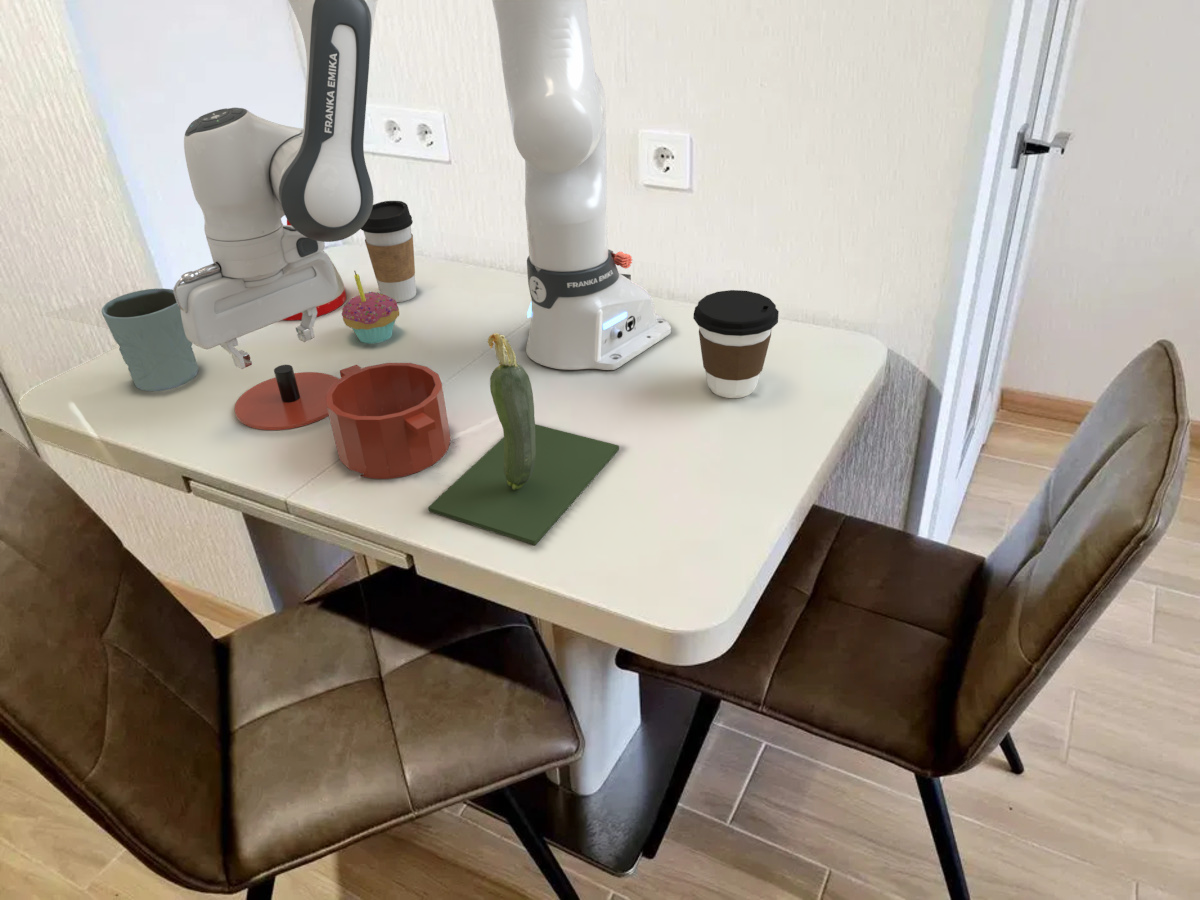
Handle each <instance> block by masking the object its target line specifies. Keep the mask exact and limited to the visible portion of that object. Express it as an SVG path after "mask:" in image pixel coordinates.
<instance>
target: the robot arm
mask: <svg viewBox="0 0 1200 900" xmlns="http://www.w3.org/2000/svg"><path fill="white" fill-rule="evenodd" d="M287 1H288V3H289V5H290V7H291V9H292V11H293V13H294V16H295V19H296V21H297V23H298V25H299V29H300V32H301V35H302V38H303V43H304V49H305V54H306V56H305V57H306V77H305V79H306V80H305V95H304V96H305V97H304V109H303V110H304V111H303V127H302V128H301V127H295V126H288V125H285V124H280V123H277V122H273V121H271V120H268V119H266V118H263V117H261V116H258V115H256V114H254V113H252V112H250V111H249V110H248V109H247V108H243V107H230V108H229V107H228V108H221V109H217V110H212V111H210V112H207V113H205V114H202V115H201V116H199V117H198V118H196V119H194V120H193V121H192V122H190V124H189V125H188V127H187V128H186V130H185V132H184V136H183V150H184V158H185V162H186V167H187V172H188V176H189V181H190V184H191V189H192V191H193V196H194V199H195V201H196V202H197V204H198V206H199V208H200V209H201V212H202V214H203V219H204V226H203V227H204V229H203V230H204V234H205V238H206V241H207V245H208V248H209V252H210V255H211V259H212V262H213V263H210V264H208V265H205V266H203V267H200V268H198V269H196V270H191V271H187V272H185V273H183V274H182V275H181V276H180V278H179V279H178V280H177V281H176V283H175V284H174V287H173V289H172V290H173V291H174V295H175V299H176V302H177V305H178V306H179V308H180V311H181V318H182V323H183V328H184V332H185V335H186V338H187V339H188V340H189V341H190V342H191V343H192V345H194V346H197V347H199V348H200V349H203V350H210V349H213V348H215V347H218V346H220V347H221V348H222V349H224V350H225V351H226V352H227V353H228V354H230V355H231V358H232V360H233V364H234V366H235V367H236V368H237V369H240V370H244V369H246V368H249V367H251V366H252V365H253V362H252V360H251V354H250V353H249V352H247V351H245V350H243V349H240V350H238V349H237V348H236V347H237V346H238V345H239V343H238V338H240V337H241V338H242V337H243V336H246V335H248V334H250V333H253V332H256V331H258V330H261V329H263V328H265V327H268V326H269V325H273V324H276V323H277V322H280V321H284V320H283V319H285V318H288V317H290V316H293V315H295V314H298V313H300V312H301V313H303V315H302V320H300V325H298V326H295V331H296V333H297V335H296V336H297V338H298V340H299V341H300V342H303V343H307V342H309V341H311V340H314V339H315V332H314V329H313V328H314V326H315V322H316V319H317V317H318V316H317V309H316V306H318V305H320V304H323V303H325V302H328V301H330V300H333V299H334V298H335V297H336V294H337V292H338V283H337V279H336V275H335V271H334V268H333V265H332V263H333V261H332V259H331V258H330V256H329V254H328V253H326V252H325V251H324V250H325V248H326V246H325V243H335V242H339V241H342V240H345V239H348V238H350V237H352V236H353V235H355V234H357V232H359V231H360V230H361V228H362V227H363V226H364V224H365V223H366V222H367V220H368V218H369V216H370V214H371V211H372V207H373V205H374V188H373V184H372V180H371V176H370V174H369V171H368V167H367V163H366V159H365V151H364V149H365V148H364V139H365V126H366V125H365V124H366V112H367V99H368V88H369V87H368V84H369V73H370V57H371V56H370V54H371V44H372V37H373V32H374V25H375V17H376V12H377V5H378V1H379V0H287ZM491 1H492V2H491V3H492V7H493V12H494V16H495V21H496V27H497V34H498V44H499V51H500V59H501V67H502V68H501V69H502V74H503V82H504V89H505V94H506V102H507V107H508V112H509V119H510V120H509V121H510V126H511V131H512V138H513V140H514V143H515V146H516V149H517V151H518V152H519V155H520V156H521V157H522V159H523V160H524V212H525V222H526V236H527V245H528V256H527V258H526V274H527V285H528V289H529V290H528V291H529V294H530V298H531V301H530V304H529V307H528V310H527V312H526V316H527V319H529V318H530V320H529V321H530V322H529V323H530V324H529V330H528V337H527V342H526V347H525V352H526V355H527V357H529V359H531V360H532V361H533V362H535V363H536V364H538V365H541V366H544V367H547V368H550V369H556V370H565V371H567V370H569V371H571V370H573V371H575V370H577V371H578V370H590V369H593V370H594V369H595V370H602V371H613V370H614V371H615V370H617V369H619V368H621V367H622V366H624V365H625V364H626V363H628V362H629V361H631V360H632V359H635V358H636V357H637V356H639V355H641V354H642V353H644V352H645V351H646V350H649V348H651V347H652V346H654V345H655V344H657V343H658V342H660V341H661V340H663V339H665V338H666V337H668V336H669V335H671V333H672V327H671V324H670V323H669V321H667V319H666V318H665V317H663V316H661V315H660V314H659V313H656V308H655V304H654V303H655V302H654V299H653V297H652V296H651V294H650V293H649V291H647V290H646V289H645V288H644V287H642V286H641V285H639V284H638V283H636V282H634V281H632V275H631V274H630V273H629V274H627V273H620V272H619V270H618V267H617V266H619V267H621V268H623V269H629V268H630V267H631V264H633V257H632V256H631V254H629V253H624V252H623V251H618V252H616V253H615V252H614V251H613V250H611V249H609V232H608V227H609V226H608V201H607V199H608V197H607V194H608V193H607V192H608V191H607V119H606V118H607V117H606V116H607V114H606V112H607V111H606V93H605V89H604V85H603V83H602V81H601V79H600V77H599V75H598V74H597V72H596V71H595V62H594V56H593V47H592V38H591V30H590V29H591V28H590V20H589V13H588V2H587V0H491ZM284 216H285V218H286V221H287V220H288V221H289V223H290V224H291V225H287V224H283V221H282V218H283V217H284ZM282 224H283V225H282ZM323 251H324V252H323ZM331 261H332V262H331ZM316 316H317V317H316Z"/></svg>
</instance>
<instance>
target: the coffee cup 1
mask: <svg viewBox="0 0 1200 900" xmlns="http://www.w3.org/2000/svg"><path fill="white" fill-rule="evenodd" d="M413 223H414V222H413V216H412V214H411V213H410V210H409V206H408V203H406V202H404V201H402V200H385V201H380V202H377V203H373V207H372V211H371V214H370V216H369V218H368V220H367V222H366V223H365V224H364V226H363V227H362V228H361V229H360V230H361V231H362V232H363V234H364V238H365V239H364V243H365V246H366V249H367V253H368V257H369V259H370V263H371V266H372V270H373V273H374V277H375V279H376V283H377V286H378V290H379V293H382V294H384V295H386V296H388V297H392V298H393V299H394V300H395V301H396V303H402V302H403V303H404V302H407V301H410V300H412V299H414V298H415V297H416V296H417V281H416V267H415V266H416V265H415V264H416V263H415V250H414V235H413V233H412V225H413Z"/></svg>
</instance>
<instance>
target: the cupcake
mask: <svg viewBox="0 0 1200 900" xmlns="http://www.w3.org/2000/svg"><path fill="white" fill-rule="evenodd" d="M353 272H354V275H353V276H354V280H355V284H356V287H357V290H358V294H359V295H356V296H354V297H351V298H350V299H349V300H348V301H346V303H345V304H343V307H342V310H341V316H342V321H343V323H344V324H345V326H346V327H348V328H351V329H352V331H353V332H354V333H355V335H356V337H357V338H358V340H359V341H360V342H361V343H363V344H370V345H371V344H379V343H382V342H386V341H387V340H389V339H391V337H392V335H393V329H394V326H395V323H396V320H397V318H399V316H400V309H399V305H398V302H396V301H395V300H394V299H393V298H392V297H388V296H386V295H384V294H382V293H380V292H375V291H374V292H373V291H368V292H365V291H364V288H363V285H362V281H361V277H360V275H359V274H358V273H357V270H353Z"/></svg>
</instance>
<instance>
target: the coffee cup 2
mask: <svg viewBox="0 0 1200 900" xmlns="http://www.w3.org/2000/svg"><path fill="white" fill-rule="evenodd" d="M779 312H780V311H779V310H778V309H777V307H776V304H775V303H774V302H773V300H772V299H771V298H770V297H767V296H766V295H763V294H761V293H758V292H753V291H749V290H739V289H737V290H736V289H735V290H734V289H730V290H720V291H715V292H713V293H710V294H707V295H705V296H704V297H702V298H701V299H700V300H698V302H697V305H696V306H695V307H694V311H693V317H692V318H693V320H694V322H695V323H696V324H697V326H698V327H699V328H698V336H699V344H700V351H701V360H702V366H703V369H704V372H705V378H706V384H707V385H708V387H709V389H710V391H711V392H712V393H713V394H715V395H716V396H718V397H721V398H726V399H739V398H745V397H747V396H749V395H751V394H752V393H753V392H754V391H755V389H756V388H757V386H758V383H759V379H760V375H761V373H762V371H763V369H764V366H765V365H764V364H765V361H766V357H767V353H768V349H769V347H770V346H769V345H770V342H771V338H772V329H773V328H774V327H775V326H776V325H777V324H778V323H779Z"/></svg>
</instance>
